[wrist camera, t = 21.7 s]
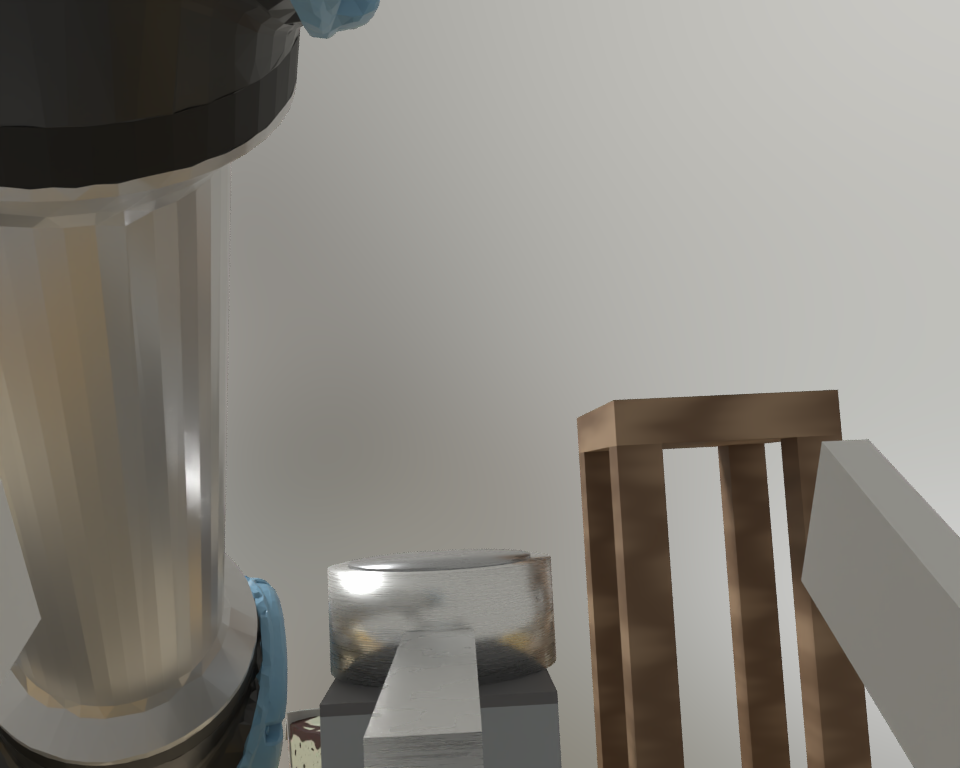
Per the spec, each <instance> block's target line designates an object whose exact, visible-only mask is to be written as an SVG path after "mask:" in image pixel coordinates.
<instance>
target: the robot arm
mask: <svg viewBox="0 0 960 768" xmlns="http://www.w3.org/2000/svg"><path fill="white" fill-rule="evenodd" d="M379 3H380V0H0V768H278V765H279V761H280V756H281V751H282V744H283V729H282V721H283V719H284V718H285V712H286V703H287V647H286V635H285V627H284V618H283V613H282V608H281V604H280V600H279V598H278V596H277V593H276V591H275V589H274V588H272V587H271V586H270V585H269V584H268V583H267V581H265V580H263V579H259V578H249V577H247V576H244V574H243V573H242V571H241V570H240V568H239V566H238V565H237V564H236V563H235V562H234V561H233V560H232V559H231V557H230V556H229V555H227V554H226V553H225V506H226V505H225V502H226V447H227V444H226V443H227V388H228V387H227V386H228V327H229V326H228V324H229V269H230V268H229V266H230V210H231V209H230V208H231V162H233V161H234V160H236V159H238V158H240V157H241V156H243V155H245V154H247V153H248V152H249V151H251V150H252V149H253V148H255V147H256V146H257V145H259V144H260V143H261V142H263V141H264V140H265V139H266V138H267V137H268V136H269V135H270V134H271V133H272V132H273V131H274V130H275V129H276V128H277V127H278V126H279V125H280V123H281V122H282V120H283V119H284V117H285V116H286V114H287V113H288V111H289V109H290V106H291V103H292V100H293V97H294V94H295V88H296V79H297V63H298V50H299V36H300V27H301V26H304V27H305V29H306V30H307V32H308V33H309V34H310V36H312V37H319V38H326V39H327V38H330V37H332V36H333V35H334V34H335V33H336V32H338V31H343V30H348V29H356V28H358V27H360V26H362V25H365V24H366V23H368V21H369V20H370V19H371V18H372V17H373V16H374V13H375V12H376V10H377V8H378V6H379ZM801 581H802V583H803V584H804V586H805V588H806V589H807V591H808V593H809V594H810V596H811V598H812V599H813V601H814V603H815V604H816V606H817V608H818V609H819V611H820V613H821V614H822V616H823V618H824V619H825V621H826V623H827V624H828V626H829V628H830V629H831V631H832V633H833V634H834V636H835V638H836V639H837V641H838V642H839V644H840V646H841V647H842V649H843V651H844V652H845V654H846V656H847V657H848V659H849V661H850V662H851V664H852V666H853V667H854V669H855V671H856V672H857V674H858V676H859V677H860V679H861V681H862V682H863V684H864V686H865V687H866V689H867V691H868V692H869V694H870V696H871V697H872V699H873V700H874V702H875V704H876V705H877V707H878V709H879V711H880V712H881V714H882V715H883V717H884V719H885V720H886V722H887V724H888V725H889V727H890V729H891V730H892V732H893V734H894V735H895V737H896V739H897V740H898V742H899V744H900V745H901V747H902V749H903V750H904V752H905V754H906V755H907V757H908V759H909V760H910V762H911V764H912V765H913V767H914V768H960V537H959V536H958V535H957V534H956V533H955V532H954V531H953V530H952V529H951V528H950V527H949V526H948V525H947V523H946V522H945V521H944V520H943V519H942V518H941V517H940V516H939V515H938V514H937V513H936V512H935V511H934V509H932V507H931V506H930V505H929V504H928V503H927V502H926V501H925V500H924V499H923V498H922V496H921V495H920V494H919V493H918V492H917V491H916V490H915V489H914V488H913V487H912V486H911V485H910V484H909V483H908V482H907V480H906V479H905V478H904V477H903V476H902V475H901V474H900V473H899V472H898V471H897V470H896V469H895V467H894V466H893V465H892V464H891V463H890V462H889V461H888V460H887V459H886V458H885V457H884V456H883V455H882V453H881V452H879V450H878V449H877V448H876V447H875V446H874V445H873V444H872V443H871V442H870V441H869V440H845V441H823V442H822V444H821V451H820V458H819V464H818V471H817V478H816V484H815V491H814V498H813V504H812V511H811V518H810V524H809V531H808V538H807V544H806V551H805V558H804V564H803V571H802V578H801Z"/></svg>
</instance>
